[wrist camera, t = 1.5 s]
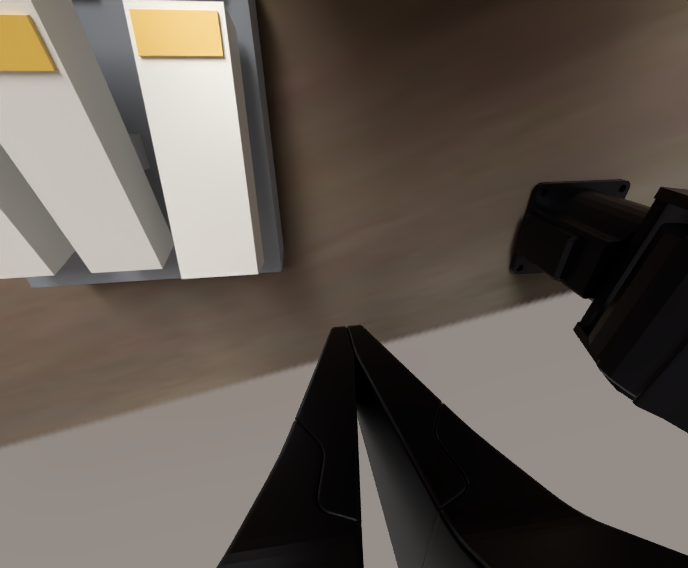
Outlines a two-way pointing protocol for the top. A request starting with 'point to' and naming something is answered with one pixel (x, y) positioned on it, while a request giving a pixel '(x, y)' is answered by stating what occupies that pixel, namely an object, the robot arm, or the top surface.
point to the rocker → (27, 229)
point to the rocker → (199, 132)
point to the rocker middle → (75, 139)
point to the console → (123, 81)
